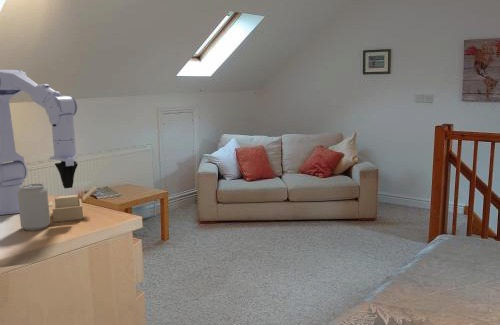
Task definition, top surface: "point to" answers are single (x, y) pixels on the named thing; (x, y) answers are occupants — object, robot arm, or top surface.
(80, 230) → the top surface
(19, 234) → the top surface
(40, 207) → the can
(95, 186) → the side flap
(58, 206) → the long flap
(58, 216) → the carton
